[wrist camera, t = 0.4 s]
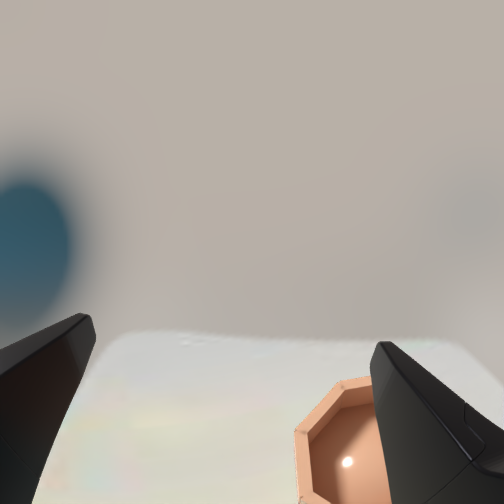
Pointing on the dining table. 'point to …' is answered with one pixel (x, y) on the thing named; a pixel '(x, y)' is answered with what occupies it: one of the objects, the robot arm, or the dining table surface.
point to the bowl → (341, 449)
